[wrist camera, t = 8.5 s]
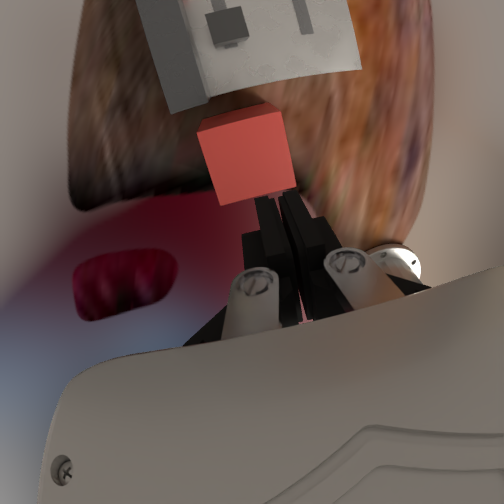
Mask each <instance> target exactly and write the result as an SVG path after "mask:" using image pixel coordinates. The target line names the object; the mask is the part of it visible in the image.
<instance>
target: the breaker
mask: <svg viewBox="0 0 504 504" xmlns="http://www.w3.org/2000/svg"><path fill="white" fill-rule="evenodd" d="M205 17H206V21H207V24H208V27H209V31H210V34H211V38H212V41H213V44H214V47H215V48H218V47H222V46H225V45H230V44H234V43H238V42H242V41H246V40H247V39H248V38H249V32H248V29H247V25H246V22H245V18H244V15H243V11H242V8H241V6H238V7H233V8H228V9H224V10H220V11H216V12H212V13H208V14H205Z"/></svg>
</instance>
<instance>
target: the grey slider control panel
mask: <svg viewBox="0 0 504 504" xmlns="http://www.w3.org/2000/svg"><path fill="white" fill-rule="evenodd" d="M135 1H136V4H137V8H138V11H139V14H140V18H141V21H142V25H143V28H144V31H145V35H146V38H147V41H148V45H149V48H150V51H151V54H152V58H153V61H154V64H155V67H156V70H157V73H158V77H159V80H160V83H161V86H162V89H163V92H164V95H165V98H166V101H167V104H168V107H169V110H170V114H174V113H177V112H180V111H183V110H186V109H189V108H192V107H195V106H198V105H202V104H205V103H208V102H209V100H210V98H211V97H213V96H216V95H220V94H223V93H227V92H231V91H235V90H239V89H243V88H247V87H251V86H256V85H260V84H265V83H269V82H274V81H280V80H285V79H290V78H296V77H302V76H309V75H315V74H323V73H330V72H339V71H349V70H360V69H362V67H361V62H360V57H359V52H358V47H357V42H356V38H355V33H354V29H353V25H352V21H351V17H350V13H349V9H348V5H347V2H346V0H135ZM238 6H241V8H242V11H243V15H244V18H245V22H246V25H247V29H248V32H249V38H248V39H247V40H246V41H242V42H238V43H234V44H230V45H225V46H222V47H218V48H215V47H214V44H213V41H212V38H211V34H210V31H209V27H208V24H207V21H206V17H205V14H208V13H212V12H216V11H220V10H224V9H228V8H233V7H238Z"/></svg>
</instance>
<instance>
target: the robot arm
mask: <svg viewBox="0 0 504 504" xmlns="http://www.w3.org/2000/svg"><path fill="white" fill-rule="evenodd" d="M254 200H255V205H256V210H257V214H258V220H259V224H260V230H258V231H253V232H249V233H245V234H242V246H243V257H244V268H245V271H243V272H241V273H240V274H238V275H237V276H236V277H235V278H234V279H233V281H232V284H231V288H230V293H229V298H228V304H227V305H226V306H225V307H224V308H223V309H222V310H221V311H220V312H219V313H218V314H216V315H215V317H213V318H212V319H211V320H210V321H209V322H208V323H207V324H206V325H205V326H203V327H202V328H201V329H200V330H199V331H198V332H197V333H196V334H195V335H193V336H192V337H191V338H190V339H189V340H188V341H187V342H186V343H185V344H184V345H183V346H182V347H175V348H168V349H162V350H156V351H149V352H143V353H136V354H130V355H126V356H121V357H117V358H113V359H110V360H107V361H104V362H101V363H99V364H96V365H94V366H92V367H90V368H88V369H86V370H84V371H82V372H81V373H79V374H78V375H76V376H75V377H74V378H73V379H72V380H71V381H70V382H69V383H68V385H67V386H66V388H65V389H64V391H63V393H62V395H61V397H60V399H59V402H58V404H57V407H56V410H55V413H54V416H53V419H52V422H51V425H50V429H49V433H48V437H47V441H46V446H45V450H44V455H43V461H42V467H41V474H40V481H39V489H38V499H37V504H504V265H502V266H498V267H493V268H489V269H487V270H484V271H480V272H477V273H475V274H471V275H468V276H465V277H462V278H459V279H456V280H454V281H451V282H448V283H445V284H442V285H439V286H436V287H433V288H432V287H429V286H426V285H423V284H422V282H421V281H420V279H419V278H420V273H421V266H420V262H419V259H418V258H417V256H416V255H415V253H414V252H413V251H412V250H411V249H409V248H408V247H406V246H404V245H400V244H385V245H381V246H378V247H375V248H373V249H370V250H368V251H367V252H364V251H362V250H360V249H357V248H351V247H347V248H342V246H341V244H340V242H339V241H338V239H337V237H336V235H335V234H334V232H333V230H332V229H331V227H330V225H329V224H328V222H327V220H326V219H325V217H324V216H322V217H317V218H313V219H312V218H311V216H310V214H309V212H308V210H307V208H306V206H305V204H304V203H303V201H302V199H301V197H300V195H299V193H298V192H297V190H291V191H286V192H283V196H280V197H278V200H279V205H280V211H281V216H282V220H281V217H280V214H279V211H278V208H277V206H276V202H275V200H274V198H271V199H269V198H268V196H263V197H259V198H255V199H254ZM282 222H283V223H282ZM299 293H300V296H301V300H302V303H303V306H304V310H305V314H306V317H307V320H311V319H313V321H312V322H308V323H303V324H299V323H298V322H302V321H303V318H302V311H301V304H300V297H299Z"/></svg>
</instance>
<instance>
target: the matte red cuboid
mask: <svg viewBox="0 0 504 504" xmlns="http://www.w3.org/2000/svg"><path fill="white" fill-rule="evenodd" d="M197 136H198V139H199V142H200V145H201V148H202V151H203V154H204V158H205V161H206V164H207V167H208V170H209V173H210V176H211V179H212V182H213V185H214V188H215V191H216V194H217V197H218V200H219V203H220V206H222V205H226V204H230V203H233V202H237V201H241V200H245V199H249V198H252V197H256V196H260V195H264V194H268V193H272V192H276V191H280V190H284V189H289V188H293V187H296V181H295V176H294V171H293V166H292V161H291V156H290V151H289V147H288V142H287V137H286V133H285V128H284V124H283V119H282V115H281V111H280V110H278V109H277V108H276V107H274V106H273V105H271V104H270V103H269V102H268V103H263V104H259V105H255V106H250V107H246V108H242V109H238V110H234V111H231V112H227V113H223V114H220V115H216V116H213V117H209V118H206V119H202V121H201V124H200V126H199V128H198V131H197Z"/></svg>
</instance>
